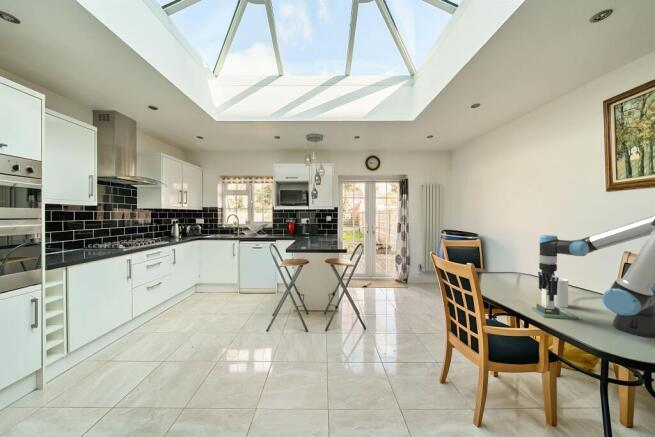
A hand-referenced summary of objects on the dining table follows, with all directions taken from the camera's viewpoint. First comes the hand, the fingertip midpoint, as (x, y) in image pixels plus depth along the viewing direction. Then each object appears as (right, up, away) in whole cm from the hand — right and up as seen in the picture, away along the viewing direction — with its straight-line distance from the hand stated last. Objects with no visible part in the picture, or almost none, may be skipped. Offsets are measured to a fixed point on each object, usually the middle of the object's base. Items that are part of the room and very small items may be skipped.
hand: (547, 304), depth 145 cm
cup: (+18, -5, +13) cm, 22 cm away
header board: (+3, -5, -1) cm, 6 cm away
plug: (0, -2, 0) cm, 2 cm away
